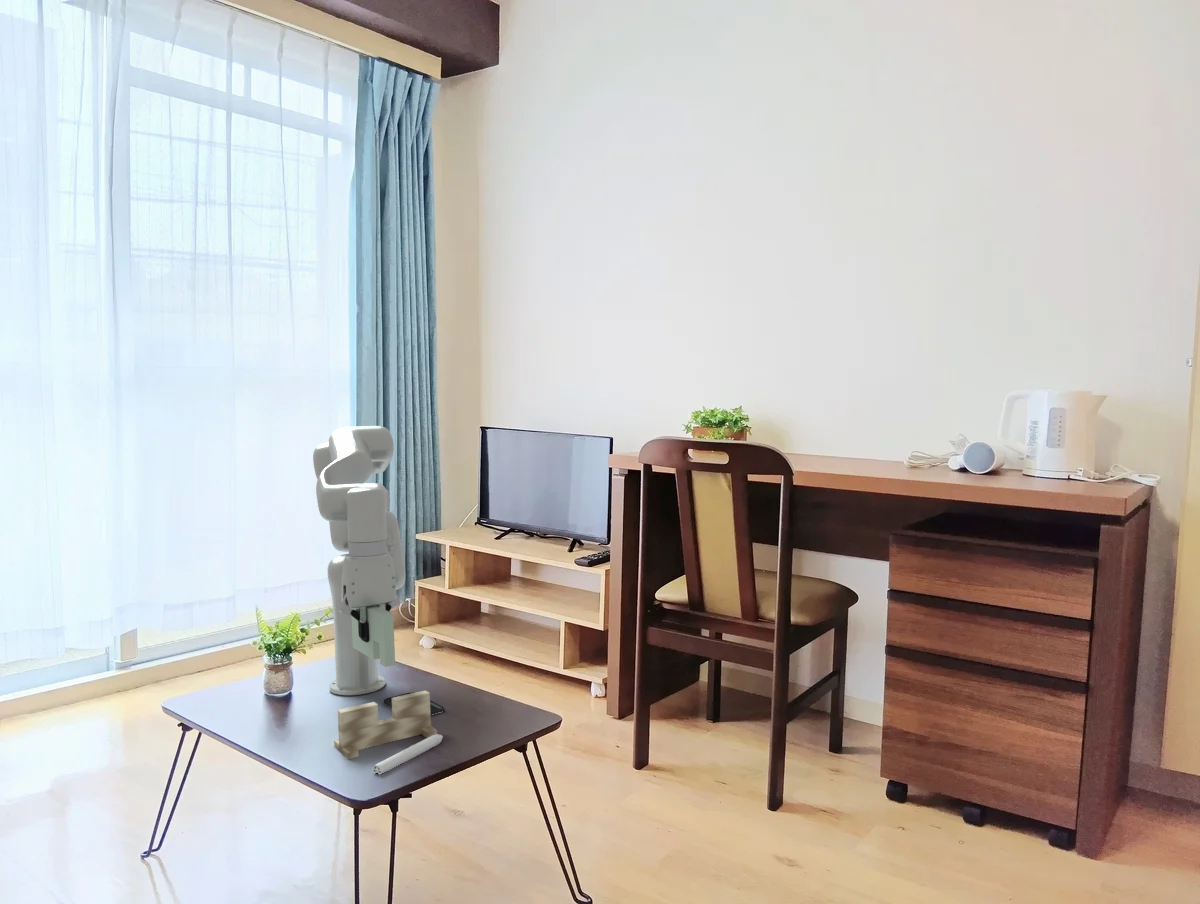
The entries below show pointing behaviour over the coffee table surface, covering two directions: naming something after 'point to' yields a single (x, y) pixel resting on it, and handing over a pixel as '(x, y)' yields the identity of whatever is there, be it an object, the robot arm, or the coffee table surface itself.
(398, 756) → the marker
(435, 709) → the phone
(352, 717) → the slotted wooden stand
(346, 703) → the coffee table surface
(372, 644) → the mint green slab
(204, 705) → the coffee table surface
